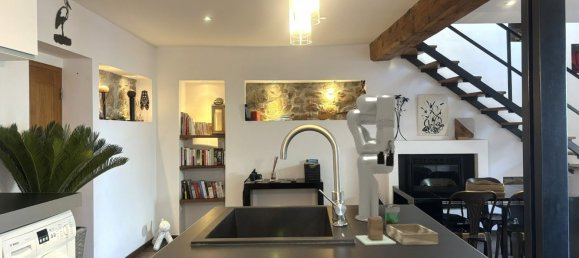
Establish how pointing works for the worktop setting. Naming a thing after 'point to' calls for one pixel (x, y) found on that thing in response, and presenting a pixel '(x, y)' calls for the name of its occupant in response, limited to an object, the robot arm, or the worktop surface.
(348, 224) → the worktop surface
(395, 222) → the food container
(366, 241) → the mat
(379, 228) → the walnut block
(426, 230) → the access box
